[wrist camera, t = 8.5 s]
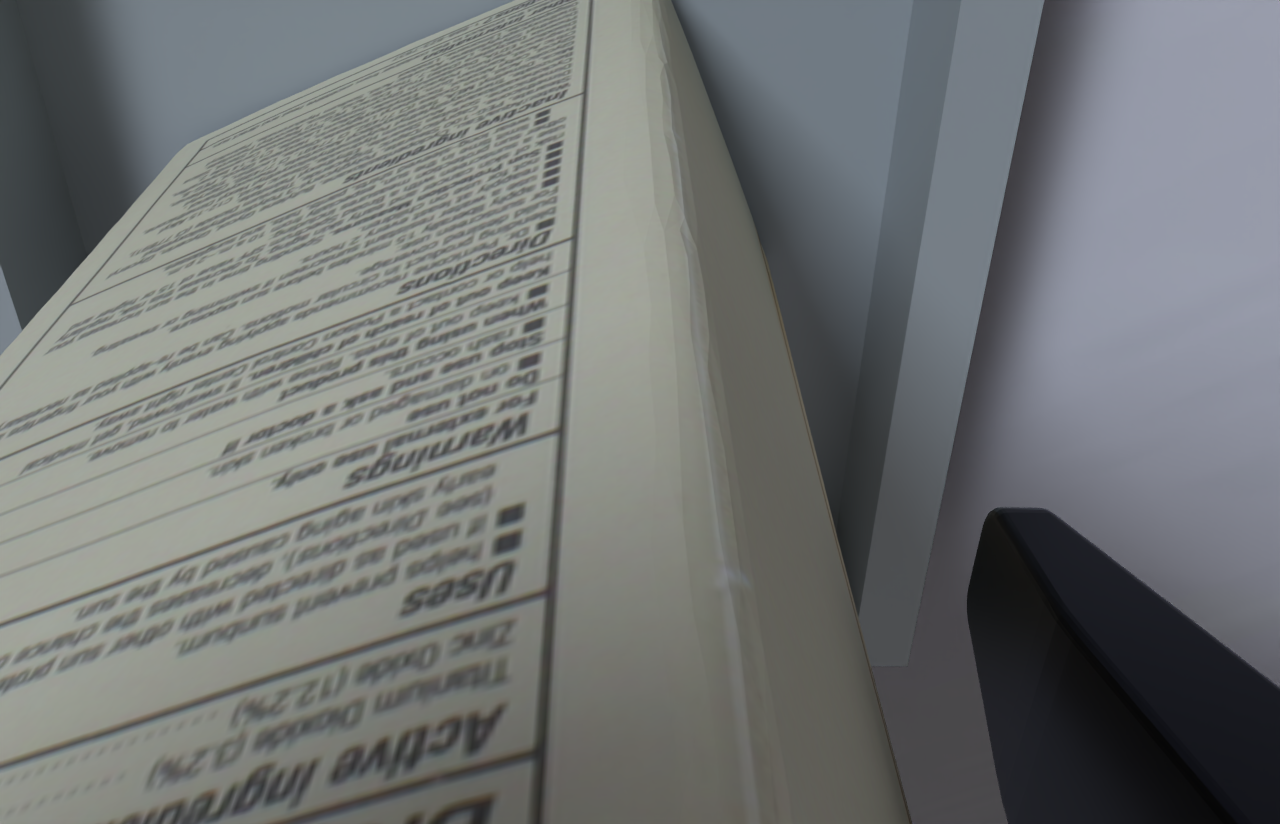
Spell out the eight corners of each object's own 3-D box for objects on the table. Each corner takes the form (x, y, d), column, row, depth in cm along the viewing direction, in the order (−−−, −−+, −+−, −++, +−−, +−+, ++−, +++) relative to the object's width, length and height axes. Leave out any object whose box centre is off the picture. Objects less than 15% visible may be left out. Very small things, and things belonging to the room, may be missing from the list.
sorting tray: (1044, -440, 11) (1137, -454, 9) (875, 548, 18) (907, 666, 16) (-166, -464, 11) (-349, -484, 9) (135, 545, 18) (72, 664, 16)
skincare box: (356, 413, 16) (-93, 1734, 6) (166, 126, 14) (-1087, 1502, 4) (790, 257, 15) (1136, 1601, 5) (661, -88, 12) (813, 1121, 2)
